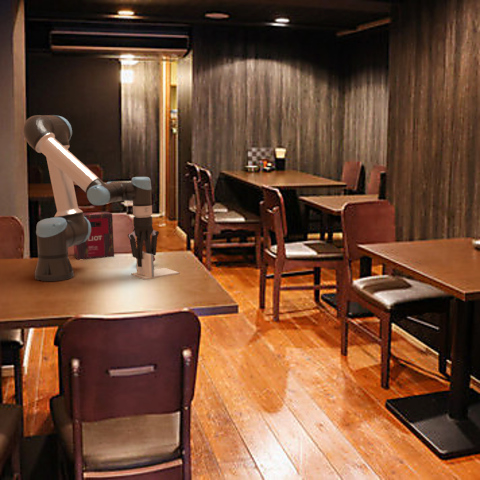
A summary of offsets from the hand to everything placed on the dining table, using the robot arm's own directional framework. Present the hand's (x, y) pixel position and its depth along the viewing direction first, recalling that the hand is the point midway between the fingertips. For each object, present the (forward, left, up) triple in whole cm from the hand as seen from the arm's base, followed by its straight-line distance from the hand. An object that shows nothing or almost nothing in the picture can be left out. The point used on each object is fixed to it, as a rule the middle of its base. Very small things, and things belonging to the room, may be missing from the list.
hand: (145, 273), depth 267 cm
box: (-50, +2, -1) cm, 50 cm away
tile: (0, 0, 0) cm, 0 cm away
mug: (-19, +11, -1) cm, 22 cm away
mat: (0, +5, -1) cm, 5 cm away
